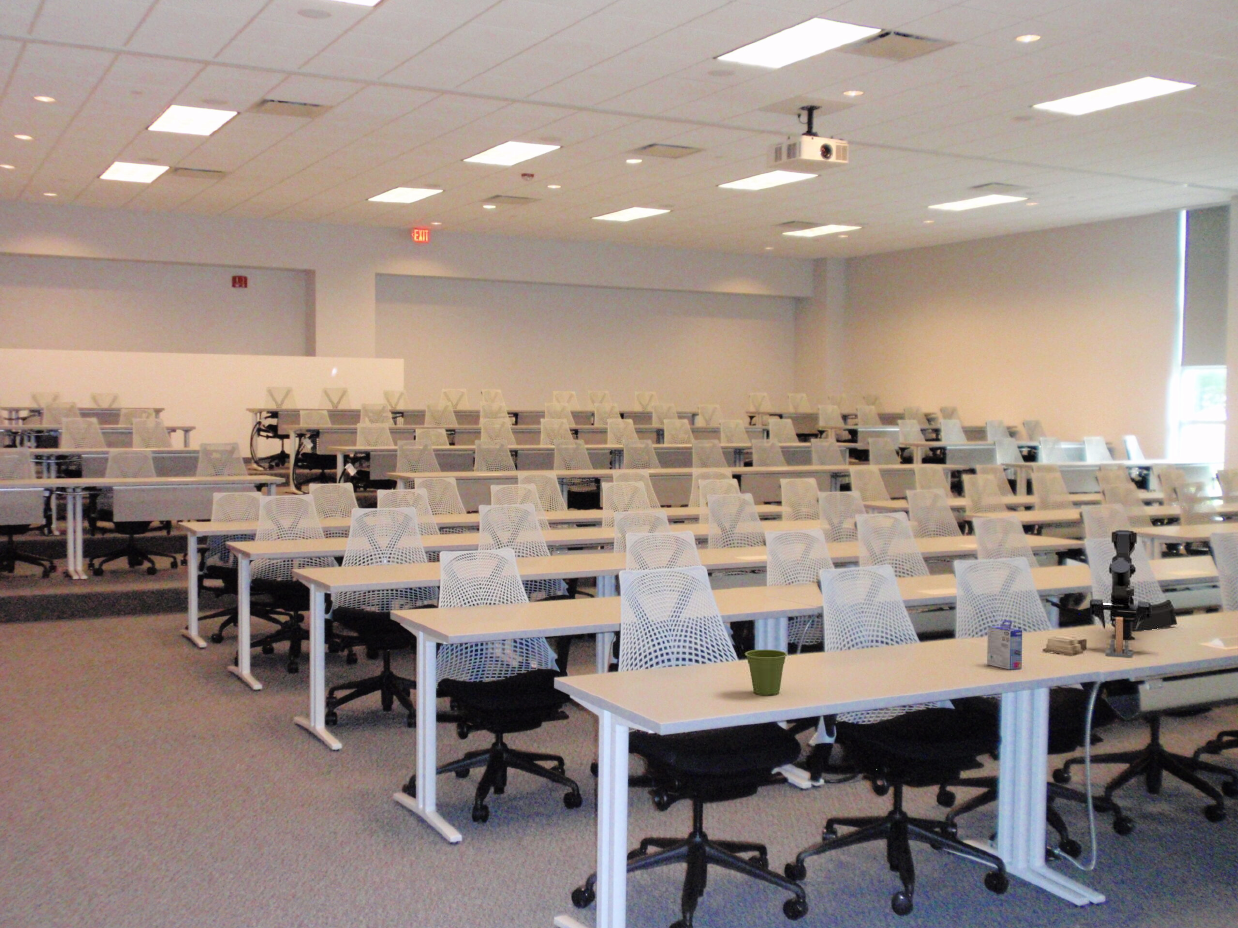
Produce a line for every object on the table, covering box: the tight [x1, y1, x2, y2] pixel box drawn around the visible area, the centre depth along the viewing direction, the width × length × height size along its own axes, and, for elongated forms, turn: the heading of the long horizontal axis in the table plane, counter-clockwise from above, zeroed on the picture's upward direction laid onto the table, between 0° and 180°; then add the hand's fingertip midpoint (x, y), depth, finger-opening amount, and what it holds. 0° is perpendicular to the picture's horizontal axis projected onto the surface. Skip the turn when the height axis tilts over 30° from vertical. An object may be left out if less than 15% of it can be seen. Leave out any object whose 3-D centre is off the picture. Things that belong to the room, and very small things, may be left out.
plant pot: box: [744, 649, 788, 697], centre depth 320 cm, size 12×12×11 cm
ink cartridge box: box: [986, 619, 1023, 670], centre depth 356 cm, size 10×6×14 cm, turn 27°
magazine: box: [1110, 599, 1178, 632], centre depth 425 cm, size 17×3×30 cm
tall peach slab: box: [1115, 617, 1124, 653], centre depth 376 cm, size 5×2×11 cm, turn 154°
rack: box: [1042, 635, 1088, 657], centre depth 382 cm, size 15×10×5 cm, turn 130°
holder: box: [1104, 639, 1134, 659], centre depth 376 cm, size 10×8×4 cm
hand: (1119, 628), depth 376 cm, fingers open, 9 cm apart
